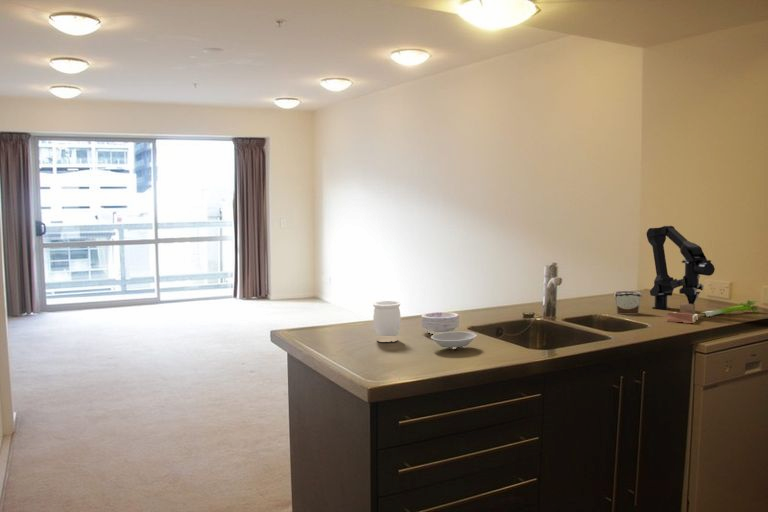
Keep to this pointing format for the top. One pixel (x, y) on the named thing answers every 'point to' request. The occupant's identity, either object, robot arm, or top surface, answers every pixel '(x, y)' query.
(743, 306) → the leek
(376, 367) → the top surface
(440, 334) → the dish
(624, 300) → the food container
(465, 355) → the top surface
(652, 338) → the top surface
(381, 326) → the jar
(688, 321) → the channel
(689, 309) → the block
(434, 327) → the paper bowls
